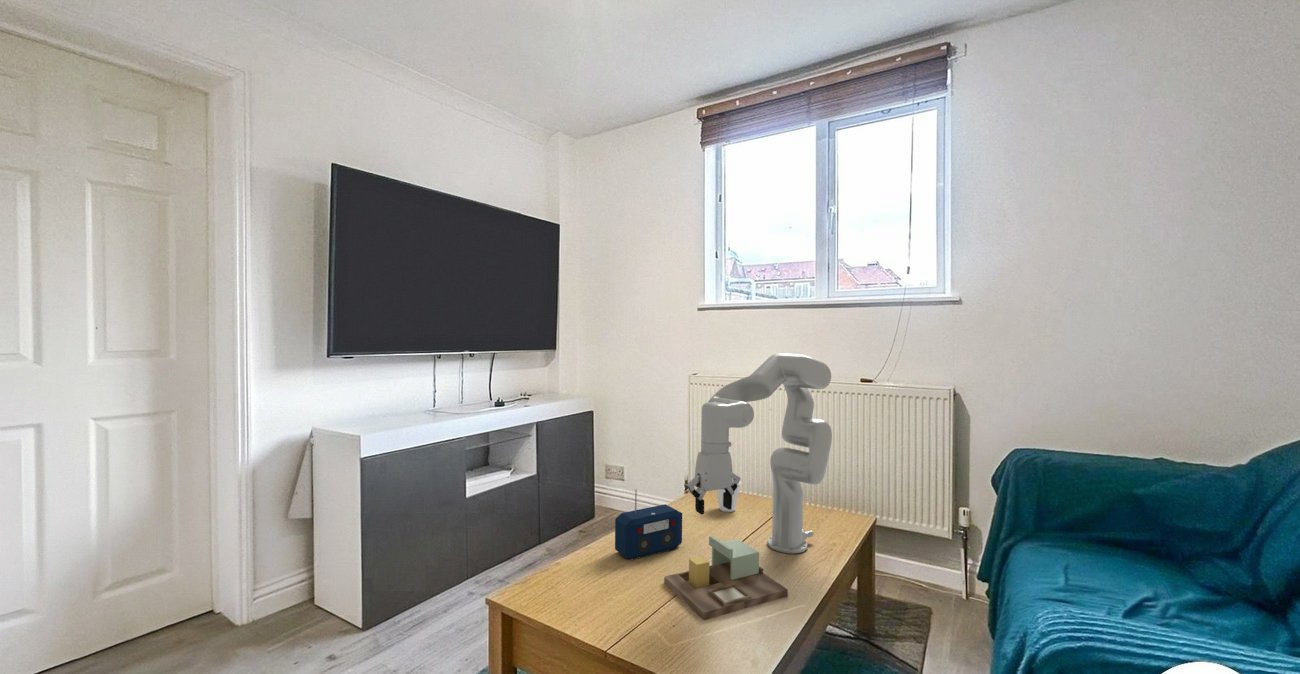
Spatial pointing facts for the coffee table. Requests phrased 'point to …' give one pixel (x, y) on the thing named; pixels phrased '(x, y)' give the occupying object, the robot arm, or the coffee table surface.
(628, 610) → the coffee table surface
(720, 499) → the cup
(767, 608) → the coffee table surface
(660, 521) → the radio
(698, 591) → the puzzle board
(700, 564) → the block
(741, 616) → the coffee table surface
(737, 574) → the cover
